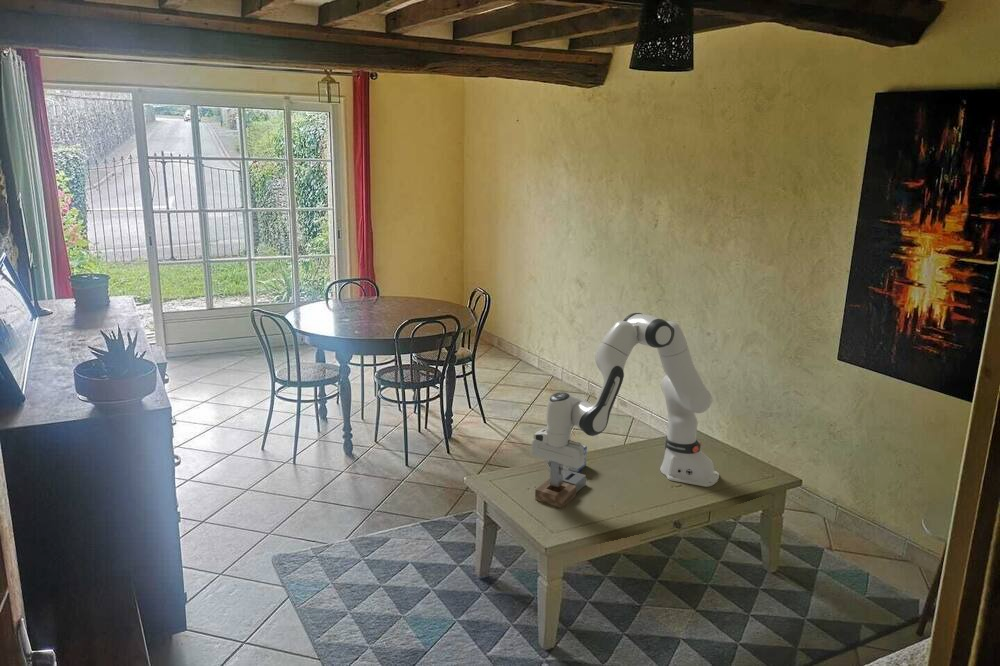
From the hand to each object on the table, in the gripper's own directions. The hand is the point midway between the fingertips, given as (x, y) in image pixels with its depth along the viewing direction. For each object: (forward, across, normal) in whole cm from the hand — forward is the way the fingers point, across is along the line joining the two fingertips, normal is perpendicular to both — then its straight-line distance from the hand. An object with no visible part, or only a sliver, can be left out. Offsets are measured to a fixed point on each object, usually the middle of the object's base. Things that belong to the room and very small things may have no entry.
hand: (556, 472), depth 259 cm
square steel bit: (+5, 0, 0) cm, 5 cm away
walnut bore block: (+10, 0, 0) cm, 10 cm away
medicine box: (+10, +5, -27) cm, 29 cm away
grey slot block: (+10, 0, -11) cm, 15 cm away
